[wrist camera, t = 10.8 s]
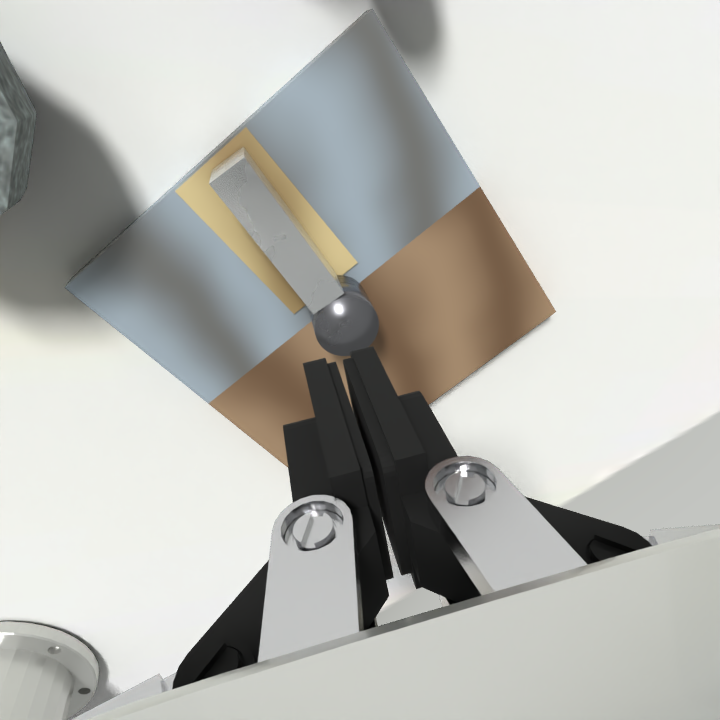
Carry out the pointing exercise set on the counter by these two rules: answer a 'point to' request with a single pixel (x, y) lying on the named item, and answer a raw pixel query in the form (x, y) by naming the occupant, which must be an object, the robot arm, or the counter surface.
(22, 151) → the mortar and pestle
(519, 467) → the counter surface
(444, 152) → the latch board
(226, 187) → the bar
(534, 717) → the robot arm
